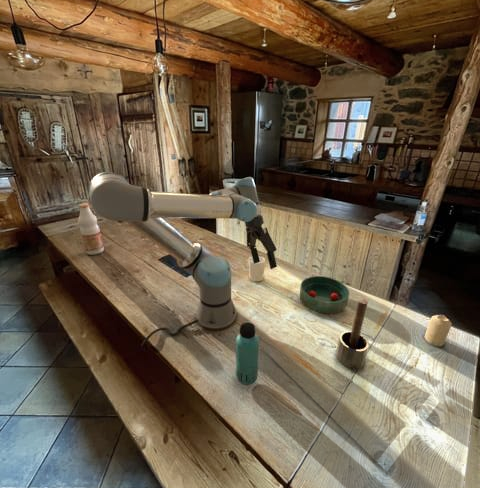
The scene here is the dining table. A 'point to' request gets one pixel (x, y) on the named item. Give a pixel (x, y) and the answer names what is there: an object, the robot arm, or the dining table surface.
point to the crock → (351, 351)
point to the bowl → (324, 294)
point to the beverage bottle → (247, 354)
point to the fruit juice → (90, 230)
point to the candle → (438, 330)
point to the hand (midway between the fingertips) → (264, 265)
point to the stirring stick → (358, 323)
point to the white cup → (256, 269)
